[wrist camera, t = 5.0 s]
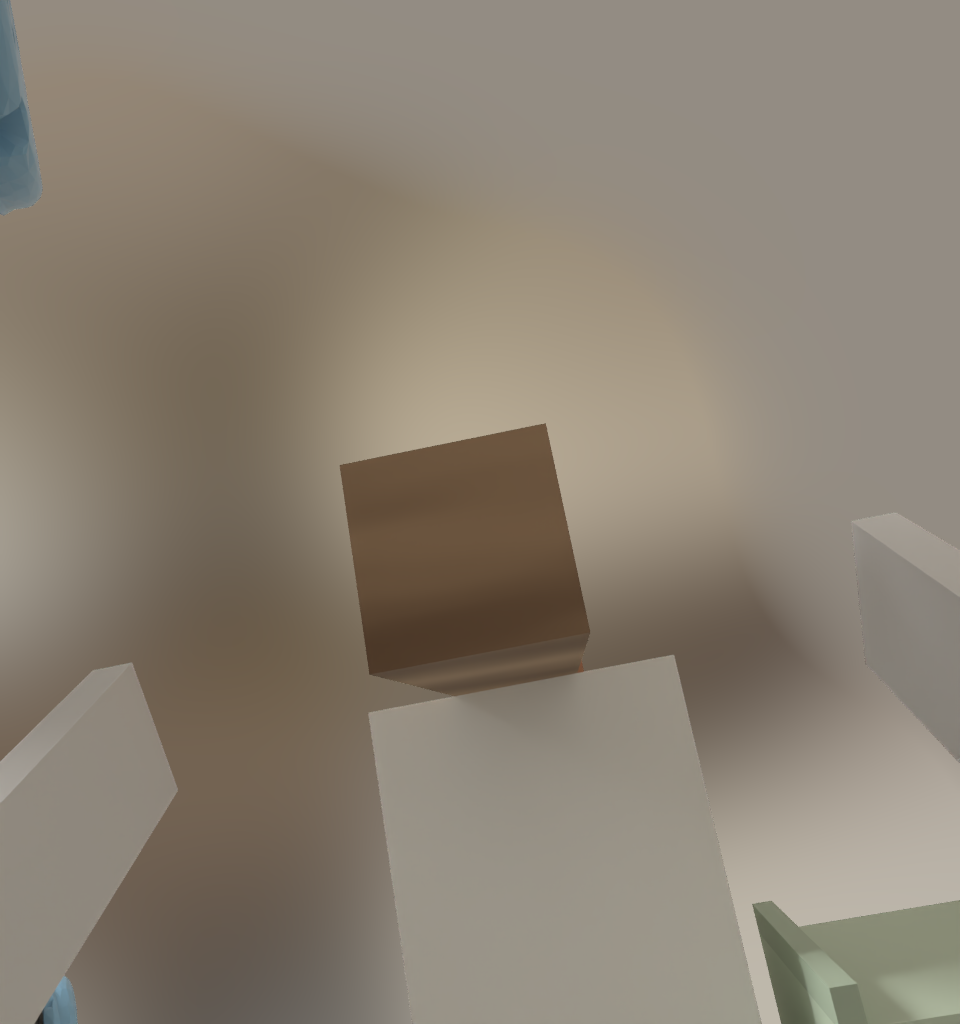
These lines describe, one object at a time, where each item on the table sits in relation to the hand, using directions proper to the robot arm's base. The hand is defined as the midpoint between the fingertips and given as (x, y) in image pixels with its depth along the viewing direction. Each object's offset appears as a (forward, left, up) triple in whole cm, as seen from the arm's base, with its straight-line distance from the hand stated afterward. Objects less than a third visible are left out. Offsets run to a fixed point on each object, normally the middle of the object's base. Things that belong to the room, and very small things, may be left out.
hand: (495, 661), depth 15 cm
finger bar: (-7, +11, 0) cm, 13 cm away
